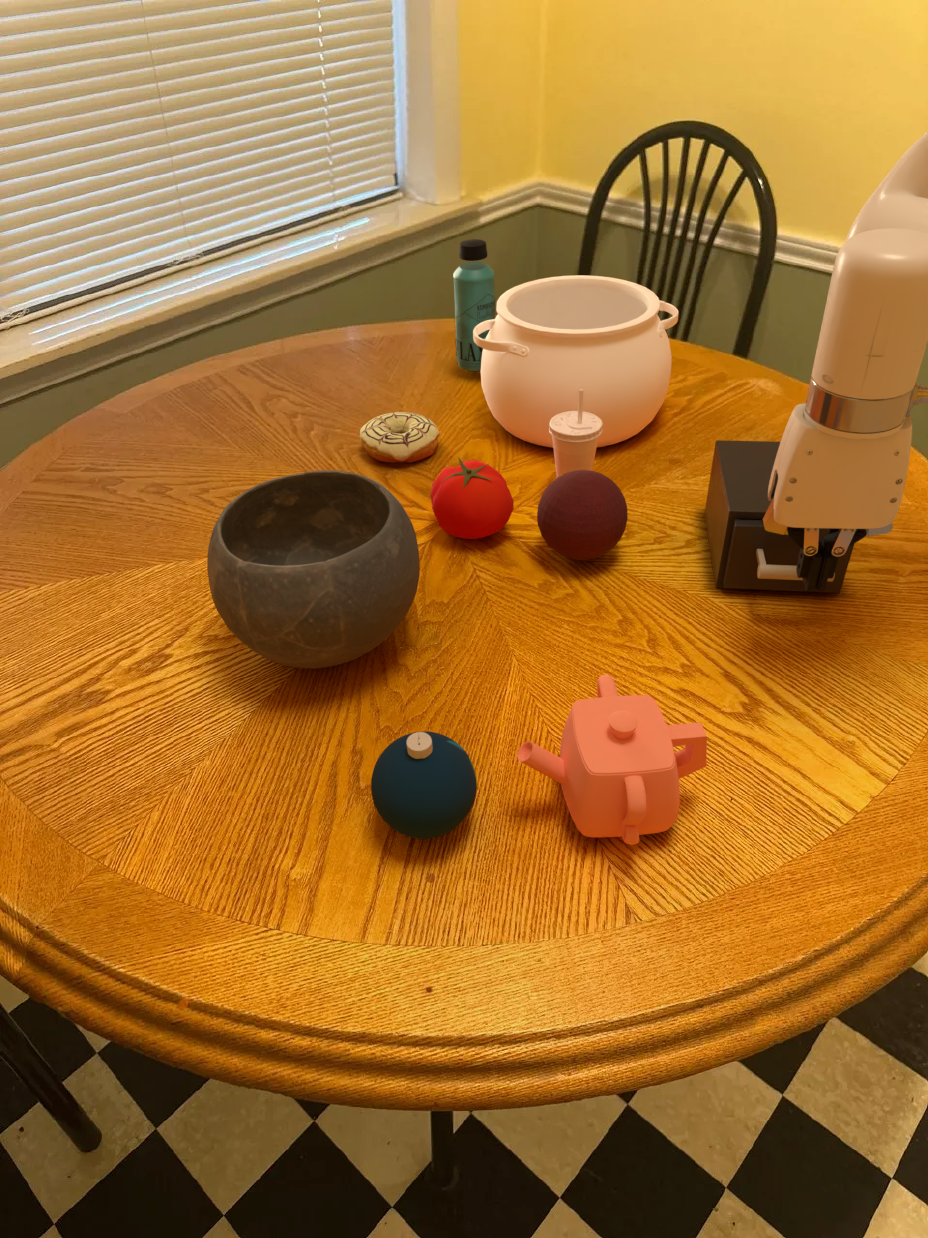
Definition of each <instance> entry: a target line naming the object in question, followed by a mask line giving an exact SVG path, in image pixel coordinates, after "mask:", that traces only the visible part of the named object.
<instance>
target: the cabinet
mask: <svg viewBox="0 0 928 1238" xmlns="http://www.w3.org/2000/svg"><path fill="white" fill-rule="evenodd" d="M780 442H781V441H773V440H772V441H770V440H769V441H765V440H720V439H719V440H718V439H717V440H715V444H714V449H713V456H712V463H711V469H710V476H709V481H708V488H707V495H706V501H705V508H704V519H705V526H706V532H707V538H708V545H709V552H710V558H711V565H712V572H713V579H714V585H715V589H725V588H724V585H723V578H724V572H725V567H726V561H727V556H728V551H729V545H730V540H731V534H732V529H733V524H734V519H737V518H738V519H763V517H764V515H765V513H766V511H767V509H768V507H769V505H770V503H771V501H769V500H768V487H769V482H770V477H771V473H772V469H773V466H774V462H775V459H776V455H777V452H778V449H779V445H780ZM854 547H855V544H853V545H852V548H851V552H850V555H849V558H848V562H847V565H846V569H845V572H844V575H843V579H842V582H841V585H840V589H839V592H838V593H837V594H840V593H841V591H842V587H843V584H844V581H845V577H846V573H847V570H848V567H849V565H850V564H849V563H850V560H851V556H852V553H853V550H854ZM731 589H733V590H734V589H735V590H736V589H737V588H731ZM737 590H738V589H737ZM754 590H758V591H762V590H761V589H754ZM778 591H782V592H786V591H785V590H778ZM802 592H804V593H805V592H807V593H809V592H808V591H802ZM826 593H829V594H833V593H832V592H826Z"/></svg>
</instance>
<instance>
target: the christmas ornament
mask: <svg viewBox="0 0 928 1238" xmlns="http://www.w3.org/2000/svg"><path fill="white" fill-rule="evenodd" d="M473 763H474V762H473V761H472V759H471V758H470V756H469V754H468V753H467V752H466V750H465V749H464V748H463V746H461V745H460V744H459V743H458V742H456V741H455V740H454V739H452V738H450V737H449V736H447V735H444V734H442V733H438V732H434V731H426V730H425V731H413V732H411V733H407V734H404V735H402V736H400V737H398V738H397V739H395V740H394V741H392V742H391V743H390V744H388V745H387V747H386V748H384V749H383V751H382V752H381V754H380V755H379V756H378V758H377V760H376V762H375V765H374V767H373V770H372V774H371V780H370V792H371V797H372V802H373V805H374V808H375V810H376V811H377V813H378V815H379V816H380V818H381V819H382V820H383V822H384V823H385V824H386V825H387V826H388V827H389V828H390V829H392V830H393V831H395V832H396V833H398V834H400V835H402V836H405V837H408V838H411V839H416V840H430V839H436V838H439V837H443V836H445V835H447V834H449V833H450V832H451V833H452V831H454V830H455V829H457V827H459V826H460V825H461V824H462V823H463V822H464V821H465V819H466V818H467V817H468V816H469V814H470V812H471V810H472V808H473V806H474V803H475V800H476V797H477V790H478V781H477V774H476V770H475V766H474V764H473Z"/></svg>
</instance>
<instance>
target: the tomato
mask: <svg viewBox="0 0 928 1238" xmlns="http://www.w3.org/2000/svg"><path fill="white" fill-rule="evenodd" d="M457 459H458V462H459V464H460V465H459V466H446V467H444V468H443V469H442V470H441V472H440V473H439V474H438V475H437V477H436V478H435V479H434V481H433V482H432V483H431V484H432V485H431V489H430V494H429V495H430V501H431V509H432V512H433V514H434V517H435V519H436V522H437V524H438V526H439V528H441V529H442V530H443V531H444V532H445V533H446V534H448V535H450V536H451V537H455V538H460V539H464V540H478V539H482V538H485V537H490V536H491V535H494V534H496V533H497V532H499V531H501V530H502V529H503V528H504V527H505V526H506V524H507V523H508V522H509V520H510V519H511V516H512V514H513V512H514V507H515V506H514V505H515V504H514V499H513V496H512V493H511V491H510V488H509V486H508V485H507V481H506V479H505V478H504V476H503V475H502V474H501V473H500V472H499V471H498V470H497V469H495V468H494V467H493V466H491V465H490V464H489V463H485V462H482V461H481V460H477V459H472V460H466V461H464V462H463V461H462V460H461V458H460V457H458V456H457Z"/></svg>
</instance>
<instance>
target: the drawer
mask: <svg viewBox="0 0 928 1238" xmlns="http://www.w3.org/2000/svg"><path fill="white" fill-rule="evenodd" d="M827 530H828V528H819V540H820V538H821V537H825V536H826V532H827ZM851 548H852V545H851V546H850V547H848V548H847V551H846V553H845V554H844V555H842V556H839V558H838V562H837V565H836V569H835V573H834V577H833V578H832V579H828V580H827V584H826V588H825V591H824V592H823V591H818V590H816V589H815V590H812V591H808V592H807V593H827V592H832V593H831V594H839V593H838V592H839V589H840V585H841V582H842V579H843V575H844V572H845V569H846V565H847V562H848V558H849V555H850V552H851ZM800 549H801V547H800V546H799V545H798V544H797V543H795V542H794V541H793V540H792V539H791V538H790V537H789V535H786V534H784V535H782V534H777V533H773V532H768V531H766V530H765V528H764V524H763V520H751V519H738V518H737V519H734V524H733V529H732V534H731V540H730V545H729V551H728V556H727V561H726V567H725V572H724V578H723V585H724V588H723V589H732V588H737V590H755V589H761V590H760V591H779V590H785V591H784V592H803V591H806V590H805V586H804V583H803V579H802V578H798V577H797V572H796V567H797V562H798V558H799V553H800Z"/></svg>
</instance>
